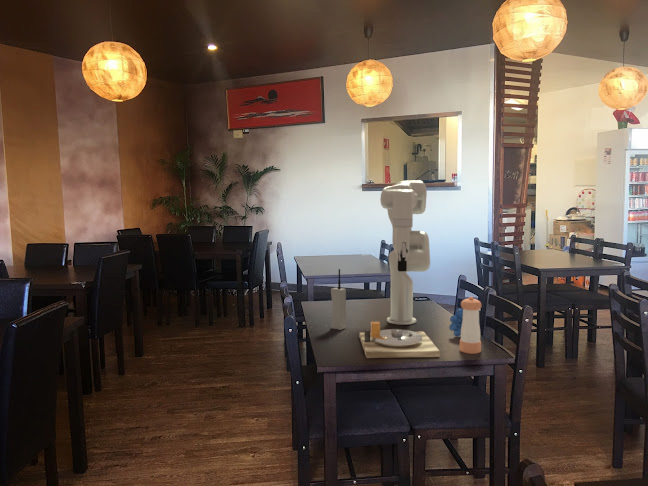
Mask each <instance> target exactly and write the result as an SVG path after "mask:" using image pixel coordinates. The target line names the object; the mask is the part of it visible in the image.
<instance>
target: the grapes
mask: <svg viewBox="0 0 648 486" xmlns="http://www.w3.org/2000/svg"><path fill="white" fill-rule="evenodd" d="M449 321H450V324H449V326H448V328H449V330H450V331H452V332H453V335H454V336H455V337H461V327H462V321H463V308H457V310H456V311H455V314H453V315H452V316H450V318H449ZM479 322H480V319H479Z"/></svg>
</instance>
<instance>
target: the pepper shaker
mask: <svg viewBox="0 0 648 486" xmlns="http://www.w3.org/2000/svg"><path fill="white" fill-rule="evenodd" d="M460 306H461V309H463V321H462V327H461V335H460V339H459V351H460V352H461V353H465V354H471V355H473V354H474V355H475V354H480V353H481V351H482V342H481V327H480V321H479V320H480V309H481V308H482V307H483V306H482V302H481V301H480V300H478V299H476V298H474V297H473V296H470V297H468V298H465V299H463V300H462V301H461V302H460Z"/></svg>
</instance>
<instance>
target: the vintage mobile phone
mask: <svg viewBox="0 0 648 486" xmlns="http://www.w3.org/2000/svg"><path fill="white" fill-rule="evenodd" d="M337 283H338V285H337V286H338V287H333V288H330V294H331V295H330V296H331V302H332V322H331V324H330V325H331V326H330V328H331V329H333V330H337V329H338V331H342V330H345V329H346V328H347V290H346V288H343V287H341V269H339V268H338V282H337Z"/></svg>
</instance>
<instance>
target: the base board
mask: <svg viewBox="0 0 648 486" xmlns="http://www.w3.org/2000/svg"><path fill="white" fill-rule="evenodd" d="M416 332H417V333H419V334H421V335H422V342H421V343H420V344H418V345H415V346H410V347H390V346H384V345H380V344H377V343H375V342H373V340H372V337H371V329H365V330H364V331H363V332H362V331H360V332H359V340H360V343H361V346H362V349H363V352H364V355H365V358H367V359H377V358H378V359H379V358H380V359H382V358H383V359H385V358H387V359H389V358H390V359H391V358H394V359H395V358H440V357H441V351H440V349H438V347H437V346H436V345H435V343H434V342H433V341H432V340H431V338H430V337H429V336H428V335H427V334H426V332H424V330H423V331H420V330H419V331H416Z"/></svg>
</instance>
